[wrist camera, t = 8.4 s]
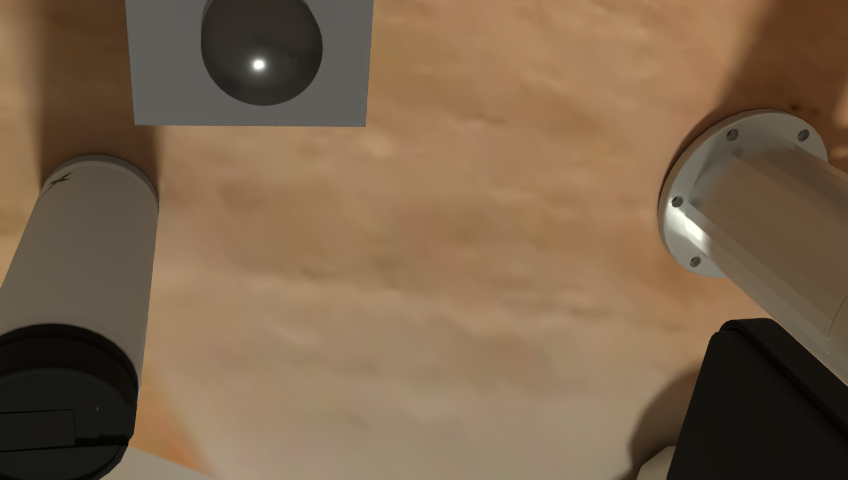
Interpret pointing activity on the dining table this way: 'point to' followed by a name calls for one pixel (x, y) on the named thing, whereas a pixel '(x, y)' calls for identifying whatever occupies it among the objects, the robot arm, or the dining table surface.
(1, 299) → the travel mug
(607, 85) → the dining table surface
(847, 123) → the dining table surface
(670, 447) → the potion bottle
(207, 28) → the plunger
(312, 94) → the grey box with hole
